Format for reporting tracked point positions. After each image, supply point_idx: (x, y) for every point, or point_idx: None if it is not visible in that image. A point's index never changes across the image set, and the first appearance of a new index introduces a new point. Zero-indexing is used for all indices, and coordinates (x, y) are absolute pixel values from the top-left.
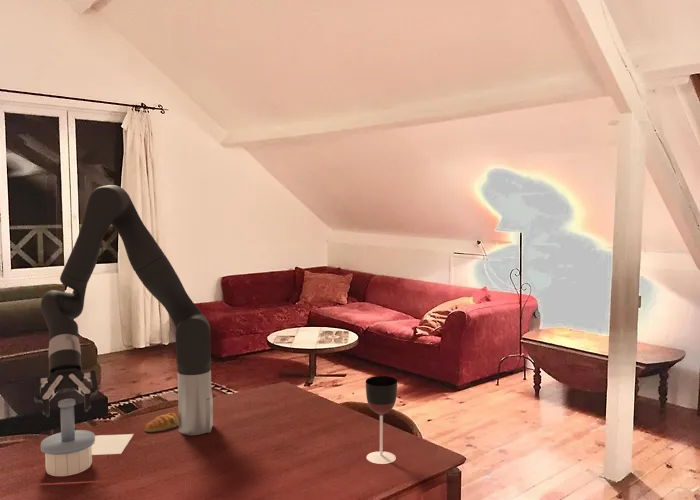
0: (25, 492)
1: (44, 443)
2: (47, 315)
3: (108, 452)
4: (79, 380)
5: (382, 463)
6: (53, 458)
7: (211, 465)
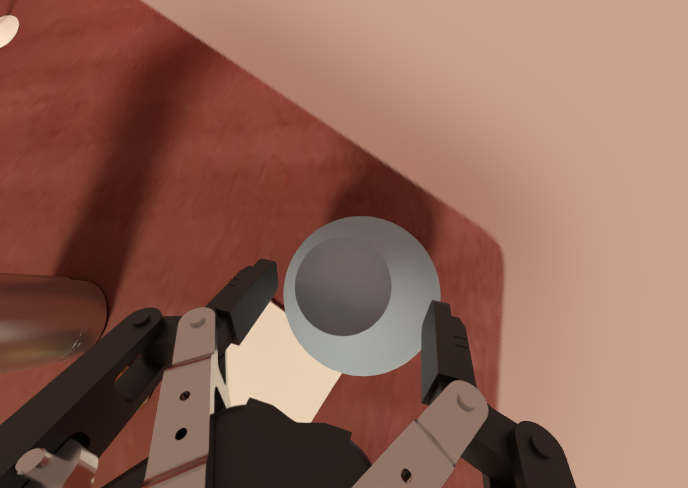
0: (466, 227)
1: (428, 305)
2: None
3: (269, 313)
4: (157, 426)
5: (14, 18)
6: None
7: (160, 136)
